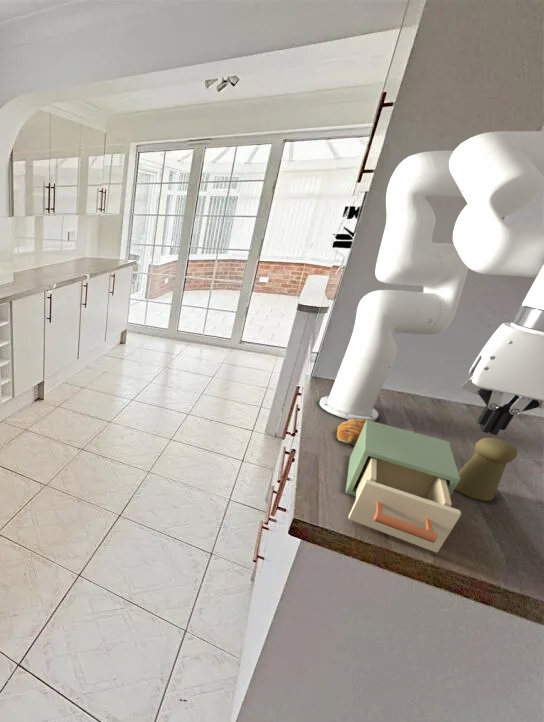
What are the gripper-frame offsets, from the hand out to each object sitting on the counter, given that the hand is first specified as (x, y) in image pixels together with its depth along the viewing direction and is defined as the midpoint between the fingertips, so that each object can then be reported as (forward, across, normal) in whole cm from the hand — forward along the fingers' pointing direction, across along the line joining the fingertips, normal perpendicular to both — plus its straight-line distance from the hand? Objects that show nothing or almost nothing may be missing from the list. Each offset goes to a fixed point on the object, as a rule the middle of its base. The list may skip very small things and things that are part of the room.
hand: (487, 430), depth 67 cm
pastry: (+17, +14, -19) cm, 29 cm away
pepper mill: (+17, -5, -11) cm, 21 cm away
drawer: (+16, +7, +12) cm, 21 cm away
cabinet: (+17, +8, -1) cm, 18 cm away
